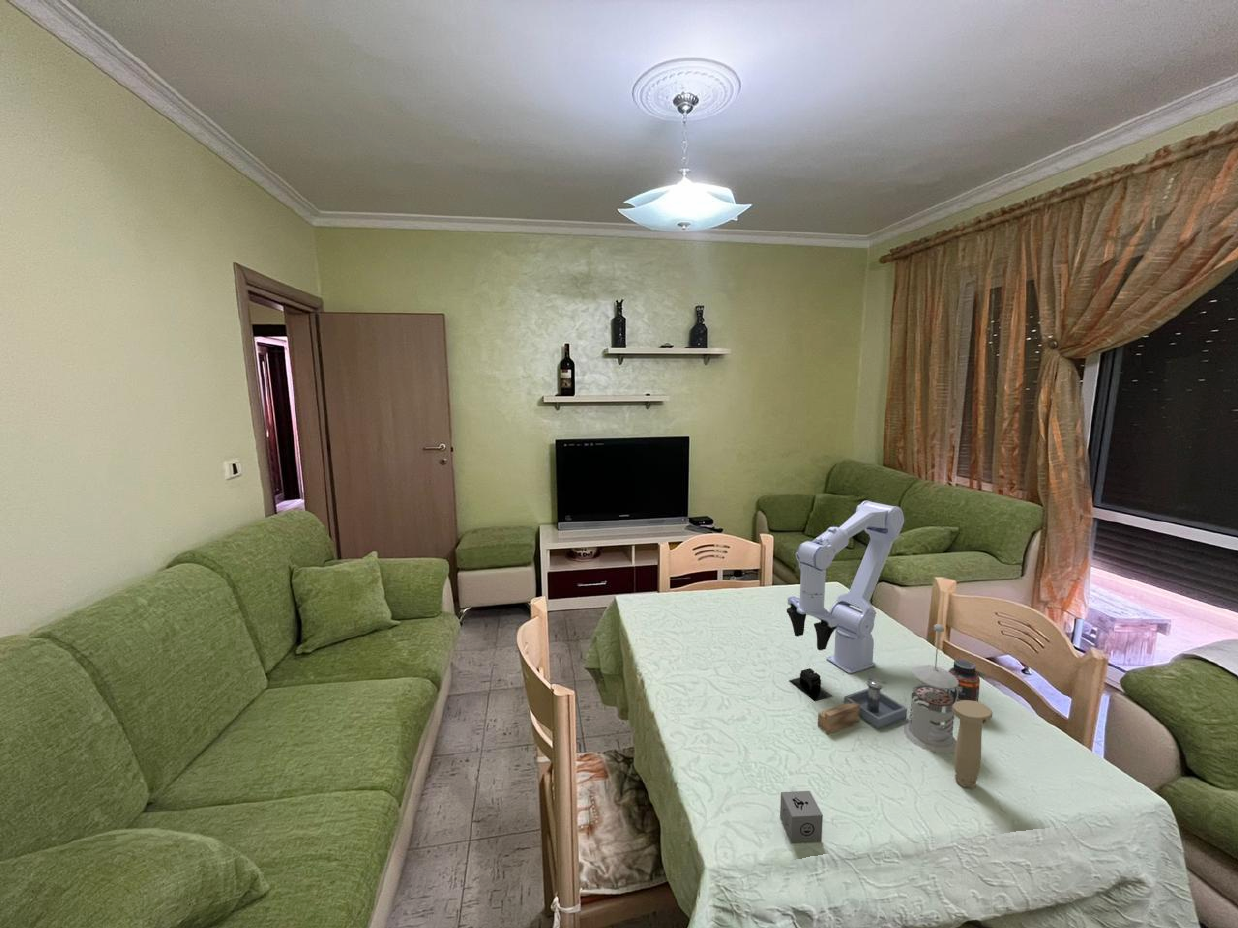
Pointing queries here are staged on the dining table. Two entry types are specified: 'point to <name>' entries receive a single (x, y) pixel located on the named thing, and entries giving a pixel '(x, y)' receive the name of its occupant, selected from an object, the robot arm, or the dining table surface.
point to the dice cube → (801, 817)
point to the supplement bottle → (965, 681)
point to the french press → (932, 708)
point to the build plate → (810, 685)
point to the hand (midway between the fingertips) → (810, 642)
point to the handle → (969, 740)
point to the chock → (839, 717)
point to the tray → (887, 712)
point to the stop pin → (874, 694)
